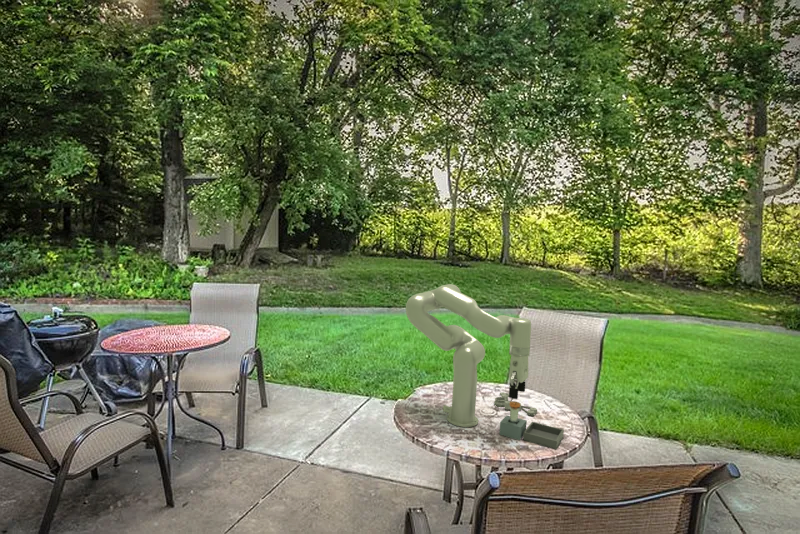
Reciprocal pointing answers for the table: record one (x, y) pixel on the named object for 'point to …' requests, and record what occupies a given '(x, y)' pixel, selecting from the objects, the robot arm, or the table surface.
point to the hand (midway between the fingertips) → (517, 394)
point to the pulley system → (505, 403)
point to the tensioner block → (512, 428)
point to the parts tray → (543, 435)
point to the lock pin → (514, 411)
